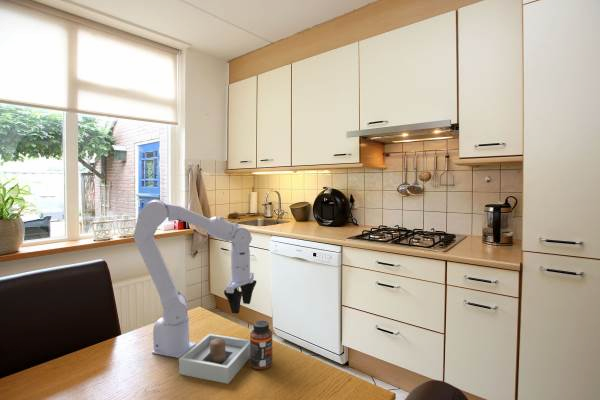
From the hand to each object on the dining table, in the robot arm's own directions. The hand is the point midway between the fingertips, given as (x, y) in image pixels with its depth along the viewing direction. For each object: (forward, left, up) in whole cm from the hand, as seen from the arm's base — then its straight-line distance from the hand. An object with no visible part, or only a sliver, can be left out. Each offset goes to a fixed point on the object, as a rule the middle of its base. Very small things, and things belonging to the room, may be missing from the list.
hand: (241, 308), depth 101 cm
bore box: (+1, -15, -9) cm, 18 cm away
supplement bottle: (+12, -12, -10) cm, 19 cm away
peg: (+1, -15, -9) cm, 18 cm away
